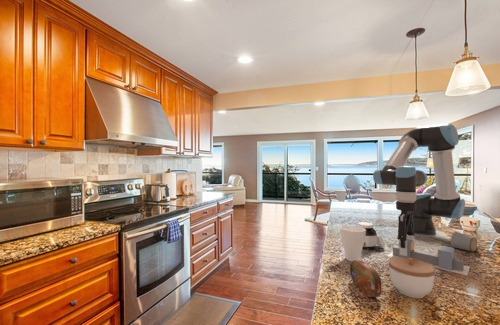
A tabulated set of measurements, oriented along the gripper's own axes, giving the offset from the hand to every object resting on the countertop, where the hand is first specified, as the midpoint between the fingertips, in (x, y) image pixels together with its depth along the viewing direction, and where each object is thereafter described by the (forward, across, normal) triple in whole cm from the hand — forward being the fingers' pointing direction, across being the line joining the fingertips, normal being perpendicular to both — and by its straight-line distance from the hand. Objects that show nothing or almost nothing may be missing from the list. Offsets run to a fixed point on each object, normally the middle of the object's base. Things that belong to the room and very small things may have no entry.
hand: (406, 252), depth 108 cm
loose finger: (+2, 0, 0) cm, 2 cm away
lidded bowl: (+3, +32, +9) cm, 33 cm away
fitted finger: (+2, 0, +14) cm, 14 cm away
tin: (+3, +41, -2) cm, 41 cm away
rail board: (+3, -1, +7) cm, 8 cm away
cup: (+3, +18, -16) cm, 24 cm away
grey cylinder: (+3, -34, +17) cm, 38 cm away
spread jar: (+3, -4, -17) cm, 18 cm away
